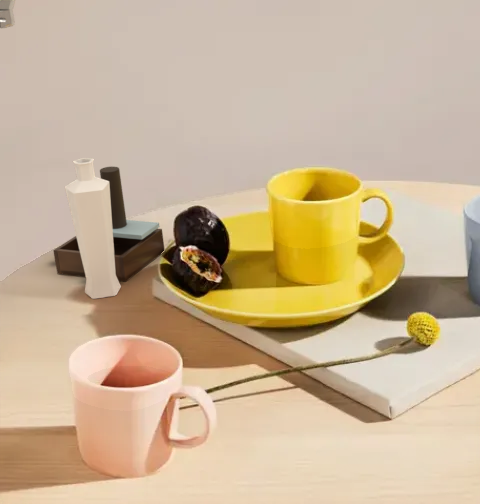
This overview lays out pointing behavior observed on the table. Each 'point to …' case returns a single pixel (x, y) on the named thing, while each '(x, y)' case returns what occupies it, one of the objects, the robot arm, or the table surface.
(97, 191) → the white faceted vase
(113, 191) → the dark cylinder on slab
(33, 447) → the table surface
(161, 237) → the dark brown square tray
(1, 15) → the robot arm
